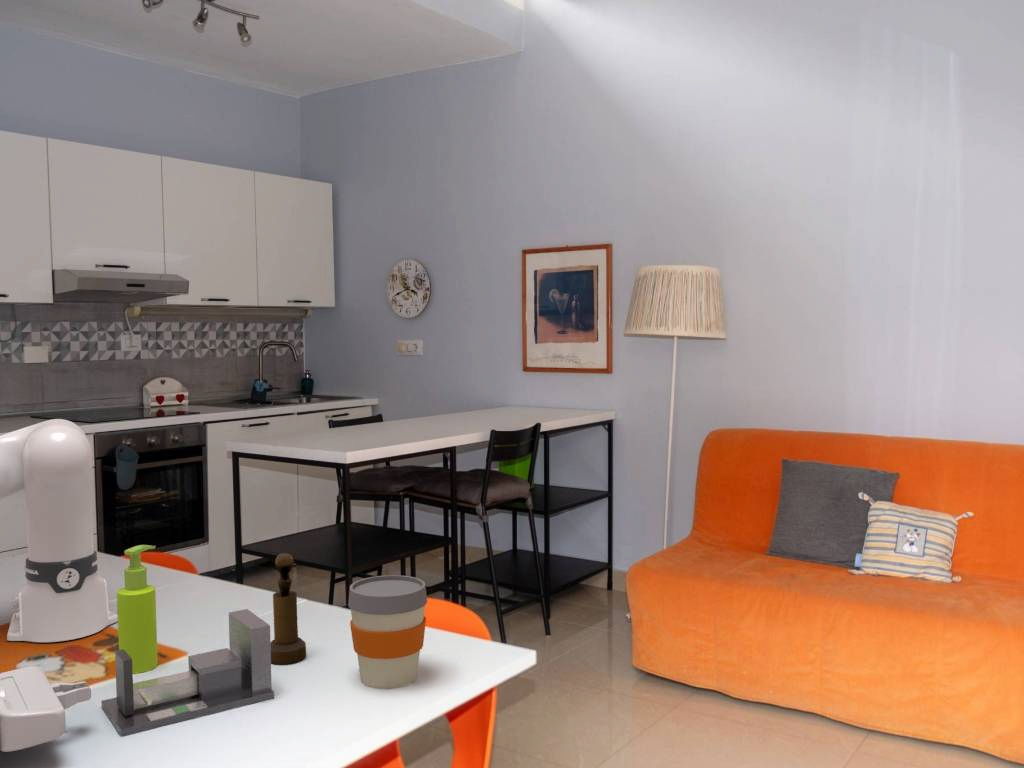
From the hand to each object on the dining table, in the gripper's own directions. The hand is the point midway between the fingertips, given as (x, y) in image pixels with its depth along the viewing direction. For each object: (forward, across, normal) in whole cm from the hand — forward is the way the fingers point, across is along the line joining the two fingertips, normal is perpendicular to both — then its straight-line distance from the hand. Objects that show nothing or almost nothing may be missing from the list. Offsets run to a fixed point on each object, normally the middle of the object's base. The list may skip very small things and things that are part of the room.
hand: (89, 690), depth 130 cm
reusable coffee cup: (+43, +8, -6) cm, 44 cm away
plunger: (+10, +1, -4) cm, 11 cm away
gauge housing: (+14, -1, -6) cm, 15 cm away
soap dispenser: (+12, -21, -6) cm, 25 cm away
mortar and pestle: (+33, -10, -6) cm, 35 cm away
